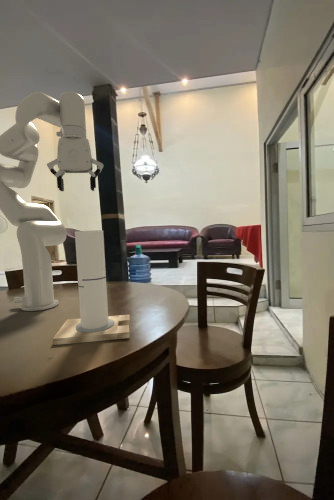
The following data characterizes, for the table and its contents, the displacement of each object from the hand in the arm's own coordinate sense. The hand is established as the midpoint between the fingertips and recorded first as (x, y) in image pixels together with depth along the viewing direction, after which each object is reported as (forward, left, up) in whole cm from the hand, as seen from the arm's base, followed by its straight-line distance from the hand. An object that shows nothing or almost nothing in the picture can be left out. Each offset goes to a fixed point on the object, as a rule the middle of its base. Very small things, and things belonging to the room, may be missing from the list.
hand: (77, 190), depth 84 cm
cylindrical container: (+6, -18, -39) cm, 43 cm away
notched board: (+6, -18, -40) cm, 44 cm away
